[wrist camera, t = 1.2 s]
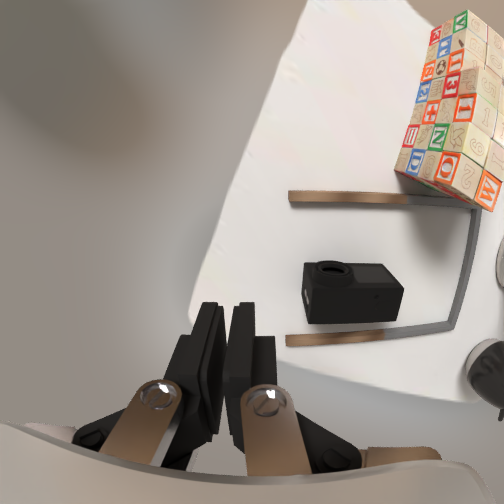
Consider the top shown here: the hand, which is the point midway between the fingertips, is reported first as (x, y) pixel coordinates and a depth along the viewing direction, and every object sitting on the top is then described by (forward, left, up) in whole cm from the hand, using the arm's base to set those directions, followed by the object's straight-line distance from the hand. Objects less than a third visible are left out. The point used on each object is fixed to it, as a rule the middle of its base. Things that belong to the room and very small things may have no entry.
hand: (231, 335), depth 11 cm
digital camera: (-11, +8, -23) cm, 27 cm away
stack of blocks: (-23, -14, -24) cm, 36 cm away
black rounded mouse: (-42, +26, -23) cm, 55 cm away
